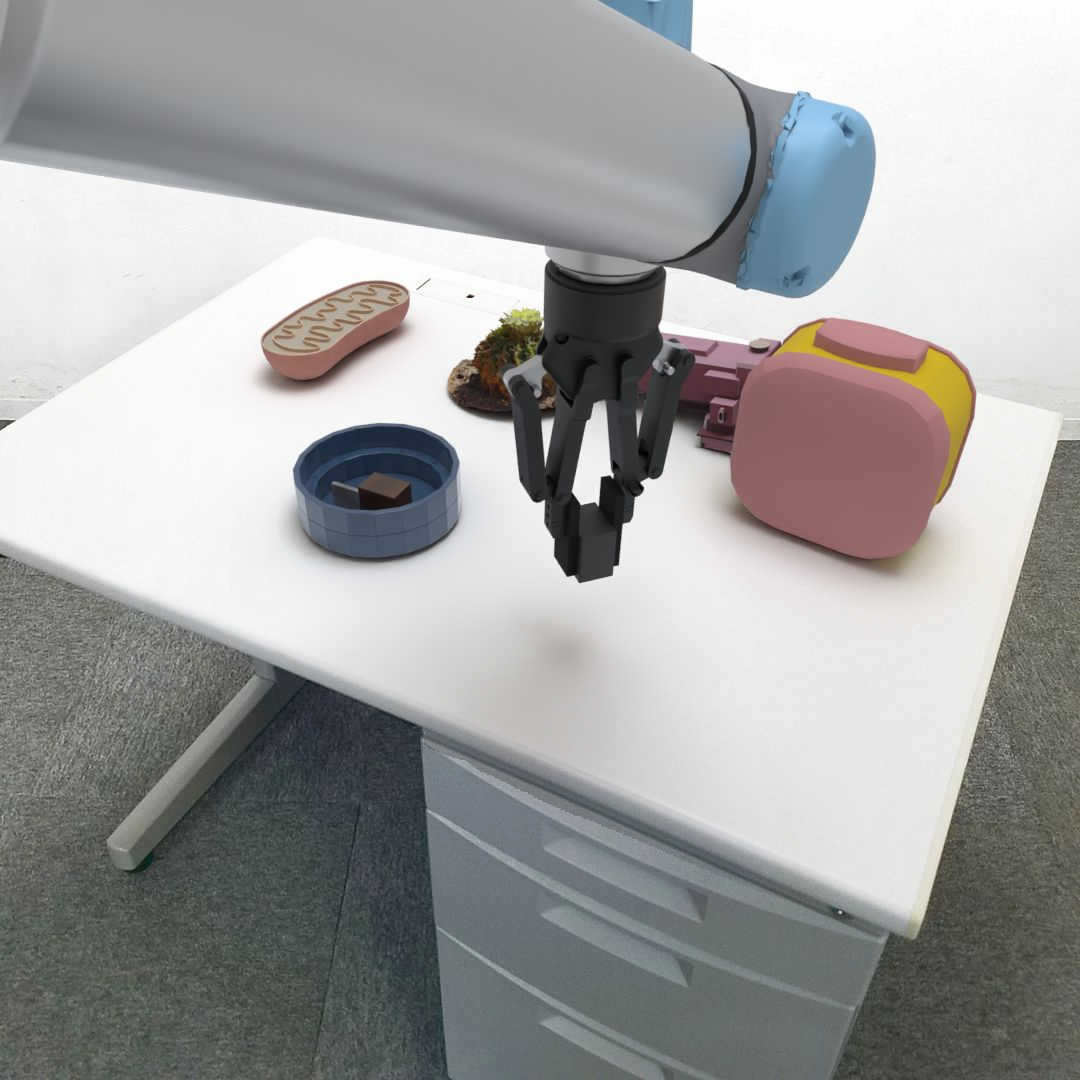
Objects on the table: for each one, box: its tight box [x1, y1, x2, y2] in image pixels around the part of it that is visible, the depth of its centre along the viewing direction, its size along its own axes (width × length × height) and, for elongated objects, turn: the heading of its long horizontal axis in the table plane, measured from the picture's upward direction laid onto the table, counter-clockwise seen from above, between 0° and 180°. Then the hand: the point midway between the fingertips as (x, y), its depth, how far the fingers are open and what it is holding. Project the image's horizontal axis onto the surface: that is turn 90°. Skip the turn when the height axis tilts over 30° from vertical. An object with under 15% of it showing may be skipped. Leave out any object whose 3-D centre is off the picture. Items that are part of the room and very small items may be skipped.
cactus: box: [447, 307, 557, 412], centre depth 110 cm, size 17×16×10 cm
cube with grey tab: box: [573, 501, 617, 584], centre depth 74 cm, size 8×3×4 cm, turn 21°
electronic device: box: [638, 331, 782, 454], centre depth 105 cm, size 11×27×10 cm, turn 59°
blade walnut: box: [331, 472, 412, 510], centre depth 90 cm, size 8×3×4 cm, turn 64°
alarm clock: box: [729, 317, 977, 560], centre depth 87 cm, size 18×11×19 cm, turn 56°
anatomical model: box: [259, 279, 411, 381], centre depth 117 cm, size 23×10×5 cm, turn 151°
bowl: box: [292, 422, 462, 559], centre depth 91 cm, size 15×15×6 cm
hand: (586, 560), depth 73 cm, fingers closed on cube with grey tab, 3 cm apart
